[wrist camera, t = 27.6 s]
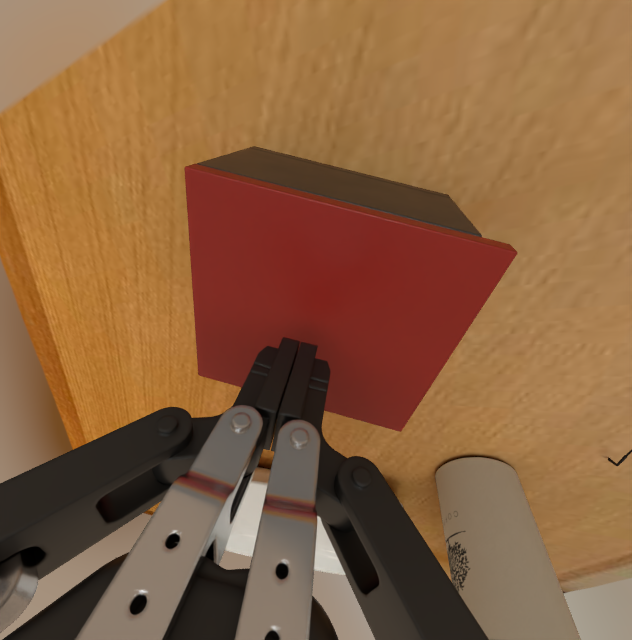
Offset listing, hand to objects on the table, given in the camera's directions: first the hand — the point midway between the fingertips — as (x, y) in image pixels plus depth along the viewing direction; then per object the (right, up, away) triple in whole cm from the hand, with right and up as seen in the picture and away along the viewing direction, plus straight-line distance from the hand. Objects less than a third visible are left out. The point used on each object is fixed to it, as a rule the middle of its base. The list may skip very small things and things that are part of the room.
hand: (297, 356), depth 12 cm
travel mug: (+18, -15, +20) cm, 31 cm away
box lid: (+1, +1, +2) cm, 3 cm away
